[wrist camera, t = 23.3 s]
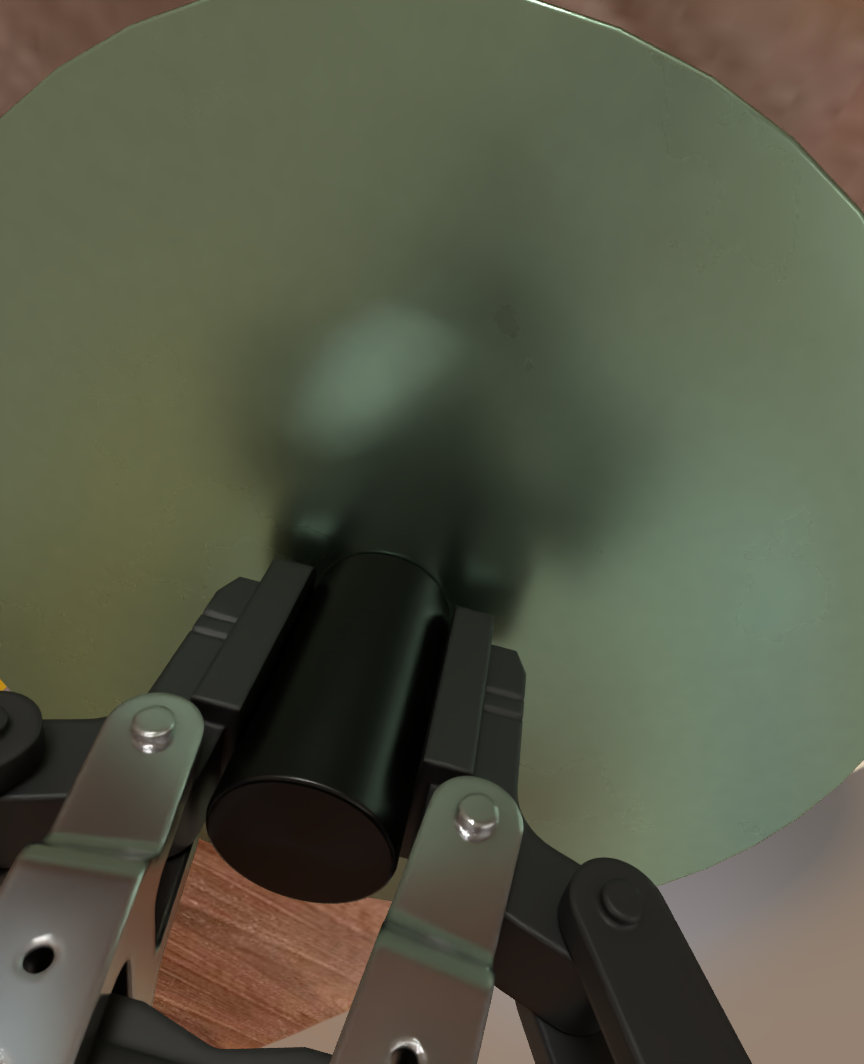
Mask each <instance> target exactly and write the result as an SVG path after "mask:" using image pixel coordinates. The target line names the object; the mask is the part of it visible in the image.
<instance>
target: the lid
mask: <svg viewBox="0 0 864 1064" xmlns="http://www.w3.org/2000/svg"><path fill="white" fill-rule="evenodd" d="M276 557H278V558H282V559H286V560H290V561H293V562H297V563H301V564H305V565H308V566H312V567H315V568H316V578H315V585H314V591H313V593H312V595H311V597H310V599H309V601H308V603H307V605H306V607H305V609H304V611H303V613H302V615H301V617H300V619H299V621H298V623H297V625H296V627H295V629H294V631H293V633H292V635H291V637H290V639H289V641H288V644H287V646H286V648H285V650H284V652H283V654H282V656H281V658H280V660H279V662H278V664H277V666H276V668H275V670H274V672H273V674H272V676H271V678H270V680H269V682H268V684H267V686H266V688H265V690H264V692H263V694H262V696H261V698H260V700H259V702H258V704H257V706H256V708H255V710H254V712H253V714H252V716H251V718H250V720H249V722H248V724H247V726H246V728H245V730H244V732H243V734H242V736H241V738H240V740H239V742H238V744H237V746H236V749H235V751H234V753H233V755H232V757H231V759H230V761H229V763H228V765H227V767H226V769H225V771H224V773H223V775H222V777H221V779H220V781H219V783H218V785H217V787H216V789H215V791H214V793H213V795H212V797H211V799H210V801H209V804H208V806H207V810H206V821H205V823H204V825H203V827H202V829H201V831H200V833H199V838H200V839H202V840H204V841H206V842H208V843H210V844H212V845H213V846H214V848H215V850H216V851H217V852H218V854H219V855H220V856H221V857H222V859H223V860H224V861H225V862H226V863H227V864H228V865H229V866H230V867H232V868H233V869H234V870H235V871H236V872H238V873H239V874H241V875H242V876H243V877H245V878H246V879H248V880H250V881H251V882H253V883H255V884H257V885H258V886H261V887H263V888H265V889H267V890H269V891H272V892H274V893H277V894H279V895H282V896H286V897H289V898H292V899H296V900H301V901H306V902H312V903H323V904H338V903H348V902H354V901H358V900H361V899H365V898H367V897H369V898H375V899H381V900H388V901H392V900H393V898H394V895H395V892H396V890H397V887H398V885H399V882H400V879H401V877H402V874H403V871H404V869H405V866H406V863H407V860H408V859H406V858H402V857H399V856H400V852H401V847H402V842H403V838H404V833H405V829H406V824H407V820H408V815H409V811H410V805H411V799H412V794H413V790H414V785H415V781H416V776H417V772H418V767H419V763H420V758H421V753H422V749H423V744H424V740H425V735H426V731H427V726H428V722H429V717H430V713H431V708H432V704H433V699H434V695H435V690H436V685H437V681H438V676H439V672H440V667H441V663H442V658H443V654H444V649H445V645H446V640H447V636H448V631H449V628H450V624H451V621H452V617H453V614H454V611H455V608H456V605H457V606H461V607H464V608H468V609H472V610H476V611H479V612H483V613H487V614H491V615H494V616H495V622H494V629H493V636H492V643H491V644H492V645H496V646H500V647H504V648H507V649H511V650H515V651H517V653H518V656H519V658H520V660H521V663H522V665H523V667H524V670H525V672H526V686H525V698H524V712H523V719H522V721H523V725H522V739H521V752H520V765H519V778H518V802H519V806H520V809H521V812H522V814H523V816H524V818H525V820H526V822H527V823H528V825H529V826H530V827H531V829H532V830H533V831H534V832H535V833H536V834H537V836H538V837H540V838H541V839H542V840H543V841H544V842H545V843H547V844H548V845H550V846H551V847H553V848H554V849H556V850H557V851H559V852H561V853H562V854H564V855H565V856H567V857H569V858H570V859H572V860H574V861H575V862H577V863H579V864H580V865H582V864H583V863H584V862H586V861H588V860H591V859H594V858H601V857H607V858H614V859H618V860H621V861H624V862H626V863H629V864H630V865H632V866H634V867H636V868H637V869H639V870H640V871H641V872H642V873H644V874H645V875H646V876H647V877H648V878H649V879H650V880H651V881H652V882H653V883H654V885H655V886H660V885H663V884H665V883H668V882H671V881H674V880H677V879H679V878H682V877H685V876H688V875H691V874H693V873H696V872H699V871H702V870H704V869H707V868H709V867H711V866H713V865H715V864H718V863H720V862H722V861H724V860H726V859H728V858H730V857H732V856H734V855H736V854H738V853H740V852H743V851H744V850H747V849H749V848H751V847H753V846H755V845H756V844H758V843H760V842H761V841H763V840H764V839H766V838H768V837H769V836H771V835H772V834H774V833H776V832H777V831H779V830H780V829H782V828H783V827H785V826H787V825H788V824H790V823H791V822H793V821H795V820H796V819H798V818H799V817H800V816H802V815H803V814H804V813H805V812H807V811H808V810H809V809H810V808H812V807H813V806H814V805H815V804H816V803H818V802H819V801H820V800H821V799H823V798H824V797H825V796H826V795H828V794H829V793H830V792H831V791H833V790H834V789H835V788H836V787H838V786H839V785H840V784H841V783H842V782H843V781H844V780H845V779H846V778H847V777H848V776H849V775H850V774H851V773H852V772H853V771H854V769H855V768H856V767H857V766H858V765H859V764H860V763H861V762H862V761H863V760H864V213H863V211H862V210H861V208H860V207H859V206H858V205H857V204H856V203H855V202H854V201H853V200H852V199H851V198H850V197H849V196H848V195H847V194H846V193H845V191H844V190H843V189H842V188H841V187H840V186H839V185H838V184H837V183H836V182H835V181H834V180H833V179H832V178H831V177H830V176H829V174H828V173H827V172H826V171H825V170H824V169H823V168H822V167H821V166H820V165H819V164H818V163H817V162H816V161H815V160H814V159H813V158H812V156H811V155H810V154H809V153H808V152H807V151H806V150H805V149H804V148H803V147H802V146H801V145H800V144H799V143H798V142H797V141H796V139H795V138H794V137H792V136H791V135H790V134H788V133H787V132H786V131H784V130H783V129H782V128H780V127H779V126H778V125H776V124H775V123H774V122H772V121H771V120H770V119H768V118H767V117H766V116H764V115H763V114H762V113H761V112H759V111H758V110H757V109H755V108H754V107H753V106H751V105H750V104H749V103H747V102H746V101H745V100H743V99H742V98H741V97H739V96H738V95H737V94H735V93H734V92H733V91H732V90H730V89H729V88H728V87H726V86H725V85H724V84H722V83H721V82H720V81H718V80H717V79H716V78H714V77H713V76H711V75H709V74H708V73H706V72H704V71H702V70H700V69H698V68H696V67H694V66H692V65H691V64H689V63H687V62H685V61H683V60H681V59H679V58H677V57H675V56H673V55H672V54H670V53H668V52H666V51H664V50H662V49H660V48H658V47H656V46H655V45H653V44H651V43H649V42H647V41H645V40H643V39H641V38H639V37H638V36H636V35H634V34H632V33H630V32H628V31H626V30H624V29H622V28H620V27H618V26H615V25H612V24H609V23H606V22H603V21H600V20H597V19H594V18H591V17H588V16H585V15H582V14H579V13H576V12H573V11H570V10H568V9H565V8H562V7H559V6H556V5H553V4H550V3H547V2H544V1H541V0H197V1H194V2H191V3H188V4H186V5H183V6H180V7H178V8H175V9H172V10H169V11H167V12H164V13H161V14H158V15H156V16H153V17H150V18H147V19H145V20H142V21H139V22H136V23H134V24H131V25H129V26H127V27H126V28H124V29H122V30H121V31H119V32H117V33H116V34H114V35H112V36H110V37H109V38H107V39H105V40H104V41H102V42H100V43H99V44H97V45H95V46H93V47H92V48H90V49H88V50H87V51H85V52H83V53H82V54H80V55H78V56H76V57H75V58H73V59H71V60H70V61H68V62H66V63H65V64H63V65H61V66H59V67H58V68H57V69H55V70H54V71H53V72H52V73H51V74H50V75H48V76H47V77H46V78H45V79H44V80H43V81H42V82H40V83H39V84H38V85H37V86H36V87H35V88H34V89H32V90H31V91H30V92H29V93H28V94H27V95H26V96H24V97H23V98H22V99H21V100H20V101H19V102H17V103H16V104H15V105H14V106H13V107H12V108H11V109H9V110H8V111H7V112H6V113H5V114H4V115H3V116H1V117H0V679H1V680H2V682H3V683H4V684H5V685H6V686H7V687H8V689H9V690H10V691H11V692H16V693H19V694H22V695H24V696H27V697H29V698H30V699H31V700H33V701H34V702H35V703H36V704H37V706H38V707H39V709H40V711H41V714H42V719H94V718H101V717H106V716H108V715H109V714H110V713H111V712H112V711H113V709H115V708H116V707H117V706H118V705H120V704H121V703H123V702H124V701H126V700H128V699H130V698H133V697H135V696H138V695H142V694H146V693H148V691H149V690H150V689H151V687H152V686H153V685H154V683H155V682H156V680H157V679H158V677H159V676H160V674H161V673H162V671H163V670H164V668H165V667H166V665H167V664H168V662H169V661H170V659H171V658H172V656H173V655H174V654H175V652H176V651H177V649H178V648H179V646H180V645H181V643H182V642H183V640H184V639H185V637H186V636H187V634H188V633H189V631H192V628H193V625H194V624H195V622H196V621H197V620H198V618H199V617H200V615H201V614H203V612H204V609H205V608H206V606H207V605H208V603H209V602H210V600H211V599H212V597H213V596H214V594H215V593H216V591H217V590H219V589H221V588H222V587H224V586H225V585H227V584H229V583H230V582H232V581H233V580H235V579H237V578H238V577H244V578H248V579H251V580H255V581H259V582H260V581H261V579H262V578H263V576H264V574H265V573H266V571H267V569H268V568H269V566H270V564H271V563H272V561H273V560H274V559H275V558H276Z"/></svg>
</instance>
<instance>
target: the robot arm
mask: <svg viewBox="0 0 864 1064" xmlns="http://www.w3.org/2000/svg"><path fill="white" fill-rule="evenodd" d="M315 578H316V568H315V567H312V566H308V565H305V564H301V563H297V562H293V561H290V560H286V559H282V558H278V557H276V558H275V559H274V560H273V561H272V563H271V564H270V566H269V568H268V569H267V571H266V573H265V574H264V576H263V578H262V579H261V581H260V582H259V581H255V580H251V579H248V578H244V577H238V578H237V579H235V580H233V581H232V582H230V583H229V584H227V585H225V586H224V587H222V588H221V589H219V590H217V591H216V593H215V594H214V596H213V597H212V599H211V600H210V602H209V603H208V605H207V606H206V608H205V609H204V612H203V614H201V615H200V617H199V618H198V620H197V621H196V622H195V624H194V625H193V628H192V631H189V633H188V634H187V636H186V637H185V639H184V640H183V642H182V643H181V645H180V646H179V648H178V649H177V651H176V652H175V654H174V655H173V656H172V658H171V659H170V661H169V662H168V664H167V665H166V667H165V668H164V670H163V671H162V673H161V674H160V676H159V677H158V679H157V680H156V682H155V683H154V685H153V686H152V687H151V689H150V690H149V691H148V693H146V694H142V695H138V696H135V697H133V698H130V699H128V700H126V701H124V702H123V703H121V704H120V705H118V706H117V707H116V708H115V709H113V711H112V712H111V713H110V714H109V715H108V716H106V717H101V718H94V719H42V714H41V711H40V709H39V707H38V706H37V704H36V703H35V702H34V701H33V700H31V699H30V698H29V697H27V696H24V695H22V694H19V693H16V692H11V691H0V1064H477V1061H478V1056H479V1052H480V1048H481V1043H482V1039H483V1034H484V1030H485V1025H486V1021H487V1016H488V1012H489V1008H490V1003H491V999H492V994H493V989H494V986H496V987H497V988H499V989H500V990H501V991H503V992H504V993H506V994H507V995H509V996H510V997H511V998H513V999H514V1000H515V1002H516V1006H517V1010H518V1013H519V1016H520V1019H521V1022H522V1025H523V1028H524V1031H525V1034H526V1037H527V1040H528V1043H529V1046H530V1049H531V1052H532V1055H533V1058H534V1061H535V1064H752V1063H751V1061H750V1059H749V1057H748V1055H747V1054H746V1052H745V1050H744V1048H743V1046H742V1044H741V1042H740V1040H739V1039H738V1037H737V1035H736V1033H735V1031H734V1029H733V1027H732V1025H731V1024H730V1022H729V1020H728V1018H727V1016H726V1014H725V1012H724V1010H723V1008H722V1007H721V1005H720V1003H719V1001H718V999H717V997H716V996H715V994H714V992H713V990H712V988H711V986H710V984H709V982H708V980H707V979H706V977H705V975H704V973H703V971H702V969H701V967H700V965H699V964H698V962H697V960H696V958H695V956H694V954H693V952H692V950H691V949H690V947H689V945H688V943H687V941H686V939H685V937H684V935H683V934H682V932H681V930H680V928H679V926H678V924H677V922H676V921H675V919H674V917H673V915H672V913H671V911H670V909H669V907H668V905H667V904H666V902H665V900H664V898H663V896H662V895H661V893H660V891H659V890H658V889H657V887H656V886H655V885H654V883H653V882H652V881H651V880H650V879H649V878H648V877H647V876H646V875H645V874H644V873H642V872H641V871H640V870H639V869H637V868H636V867H634V866H632V865H630V864H629V863H626V862H624V861H621V860H618V859H614V858H607V857H601V858H594V859H591V860H588V861H586V862H584V863H583V864H582V865H580V864H579V863H577V862H575V861H574V860H572V859H570V858H569V857H567V856H565V855H564V854H562V853H561V852H559V851H557V850H556V849H554V848H553V847H551V846H550V845H548V844H547V843H545V842H544V841H543V840H542V839H541V838H540V837H538V836H537V834H536V833H535V832H534V831H533V830H532V829H531V827H530V826H529V825H528V823H527V822H526V820H525V818H524V816H523V814H522V812H521V809H520V806H519V802H518V778H519V765H520V752H521V739H522V725H523V721H522V719H523V712H524V698H525V686H526V672H525V670H524V667H523V665H522V663H521V660H520V658H519V656H518V653H517V651H515V650H511V649H507V648H504V647H500V646H496V645H492V644H491V643H492V636H493V629H494V622H495V616H494V615H491V614H487V613H483V612H479V611H476V610H472V609H468V608H464V607H461V606H457V605H456V608H455V611H454V614H453V617H452V621H451V624H450V628H449V631H448V636H447V640H446V645H445V649H444V654H443V658H442V663H441V667H440V672H439V676H438V681H437V685H436V690H435V695H434V699H433V704H432V708H431V713H430V717H429V722H428V726H427V731H426V735H425V740H424V744H423V749H422V753H421V758H420V763H419V767H418V772H417V776H416V781H415V785H414V790H413V794H412V799H411V805H410V811H409V815H408V820H407V824H406V829H405V833H404V838H403V842H402V847H401V852H400V856H399V857H402V858H406V859H408V860H407V863H406V866H405V869H404V871H403V874H402V877H401V879H400V882H399V885H398V887H397V890H396V892H395V895H394V898H393V900H392V903H391V906H390V908H389V911H388V914H387V916H386V919H385V921H384V922H383V924H382V926H381V929H380V931H379V934H378V936H377V939H376V942H375V944H374V947H373V949H372V952H371V955H370V957H369V960H368V963H367V965H366V968H365V971H364V973H363V976H362V979H361V981H360V984H359V986H358V989H357V992H356V994H355V997H354V1000H353V1002H352V1005H351V1008H350V1010H349V1013H348V1016H347V1018H346V1021H345V1024H344V1026H343V1029H342V1031H341V1034H340V1037H339V1039H338V1042H337V1045H336V1047H335V1050H334V1052H333V1055H331V1054H328V1053H324V1052H320V1051H317V1050H313V1049H310V1048H306V1047H294V1048H254V1049H218V1048H214V1047H212V1046H210V1045H208V1044H207V1043H205V1042H204V1041H202V1040H201V1039H199V1038H198V1037H196V1036H195V1035H193V1034H192V1033H190V1032H189V1031H187V1030H186V1029H184V1028H183V1027H181V1026H180V1025H178V1024H177V1023H175V1022H174V1021H172V1020H171V1019H169V1018H168V1017H166V1016H165V1015H163V1014H162V1013H160V1012H159V1011H157V1010H156V1009H154V1008H153V1007H152V1004H153V999H154V994H155V989H156V982H157V977H158V972H159V968H160V964H161V960H162V957H163V953H164V950H165V947H166V944H167V941H168V937H169V934H170V931H171V928H172V925H173V921H174V918H175V915H176V912H177V909H178V905H179V902H180V899H181V896H182V893H183V889H184V886H185V883H186V880H187V877H188V874H189V870H190V867H191V864H192V861H193V858H194V854H195V851H196V848H197V844H198V839H199V833H200V831H201V829H202V827H203V825H204V823H205V821H206V810H207V806H208V804H209V801H210V799H211V797H212V795H213V793H214V791H215V789H216V787H217V785H218V783H219V781H220V779H221V777H222V775H223V773H224V771H225V769H226V767H227V765H228V763H229V761H230V759H231V757H232V755H233V753H234V751H235V749H236V746H237V744H238V742H239V740H240V738H241V736H242V734H243V732H244V730H245V728H246V726H247V724H248V722H249V720H250V718H251V716H252V714H253V712H254V710H255V708H256V706H257V704H258V702H259V700H260V698H261V696H262V694H263V692H264V690H265V688H266V686H267V684H268V682H269V680H270V678H271V676H272V674H273V672H274V670H275V668H276V666H277V664H278V662H279V660H280V658H281V656H282V654H283V652H284V650H285V648H286V646H287V644H288V641H289V639H290V637H291V635H292V633H293V631H294V629H295V627H296V625H297V623H298V621H299V619H300V617H301V615H302V613H303V611H304V609H305V607H306V605H307V603H308V601H309V599H310V597H311V595H312V593H313V591H314V585H315Z"/></svg>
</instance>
